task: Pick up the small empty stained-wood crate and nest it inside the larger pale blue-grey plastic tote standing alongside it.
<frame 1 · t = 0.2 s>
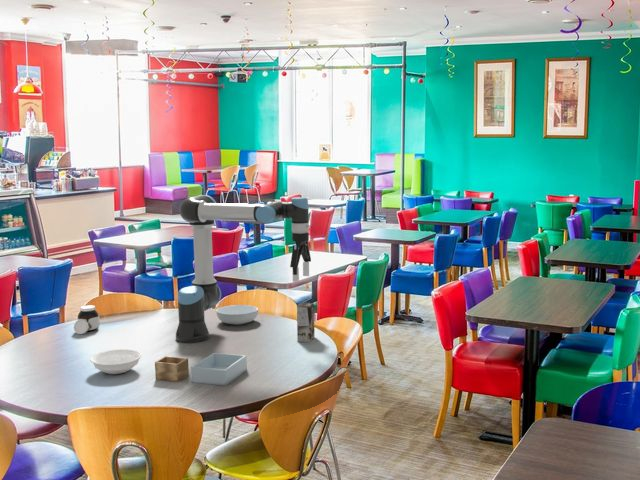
hand: (301, 278, 344), 28 cm above the table, fingers open, 13 cm apart
plastic tote: (219, 375, 298), on the table
wooden crate: (172, 377, 297), on the table
spread jar: (87, 332, 366), on the table
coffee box: (306, 339, 347), on the table
serving bowl: (237, 323, 379), on the table
bowl: (117, 372, 305), on the table
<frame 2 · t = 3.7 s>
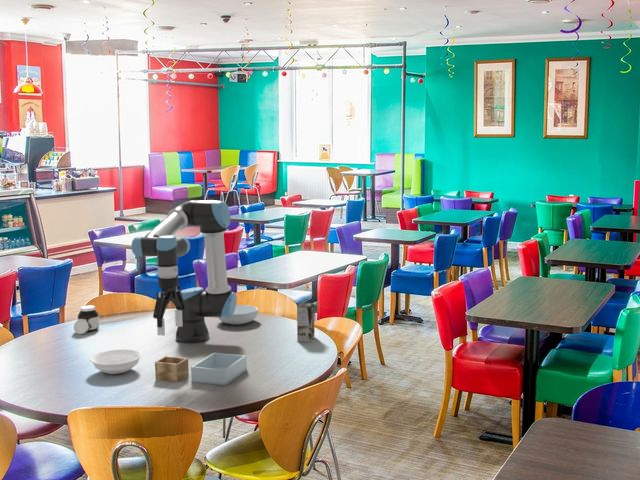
hand: (170, 330, 294), 19 cm above the table, fingers open, 13 cm apart
nothing on the table moved.
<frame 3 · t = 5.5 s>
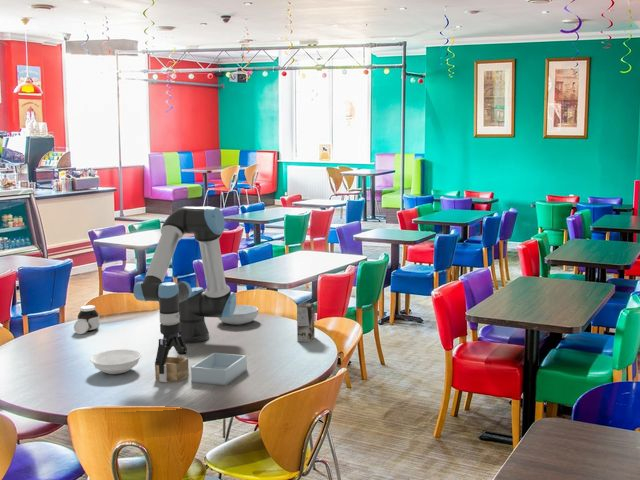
hand: (172, 376, 297), 1 cm above the table, fingers open, 13 cm apart
nothing on the table moved.
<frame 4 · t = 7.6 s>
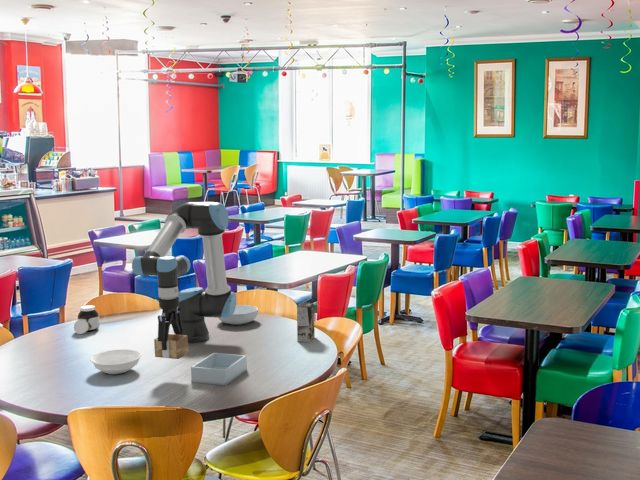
hand: (171, 354, 296), 9 cm above the table, fingers closed on wooden crate, 8 cm apart
wooden crate: (171, 354, 296), point 9 cm above the table, touching gripper
everything else where it was.
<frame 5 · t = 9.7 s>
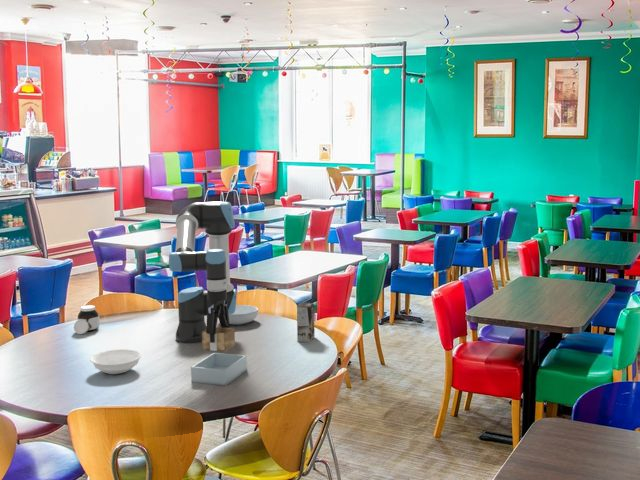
hand: (218, 347, 296), 12 cm above the table, fingers closed on wooden crate, 8 cm apart
wooden crate: (218, 347, 296), point 11 cm above the table, touching gripper
everything else where it was.
when the fingers open (2 cm above the table, at t = 12.1 s): wooden crate drops 1 cm, resting on plastic tote.
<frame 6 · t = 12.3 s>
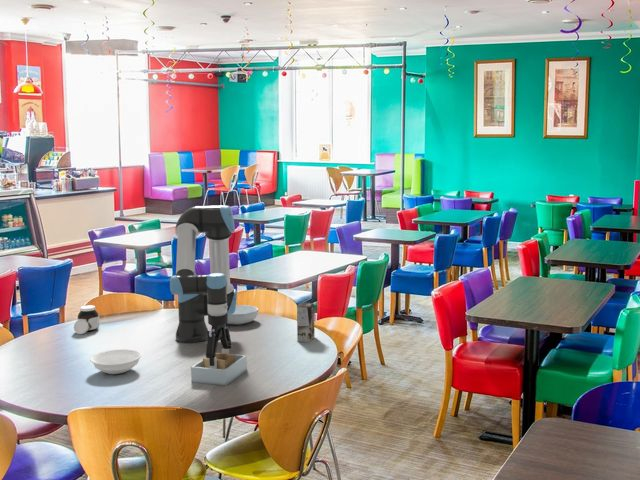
hand: (219, 369, 298), 3 cm above the table, fingers open, 10 cm apart
wooden crate: (219, 373, 298), point 1 cm above the table, touching plastic tote
everything else where it was.
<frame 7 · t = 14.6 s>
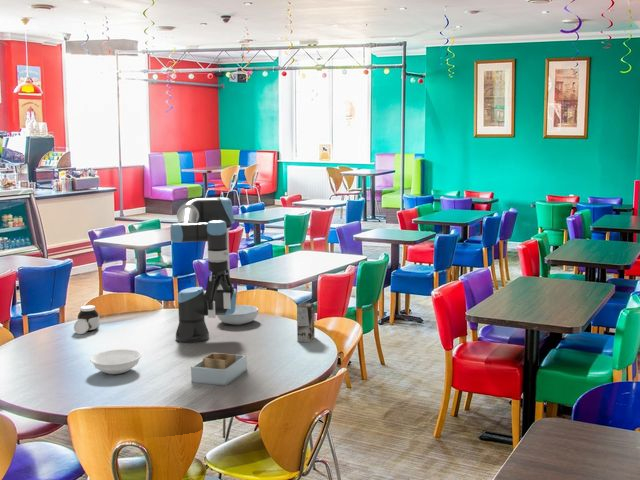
hand: (219, 313, 302), 23 cm above the table, fingers open, 13 cm apart
nothing on the table moved.
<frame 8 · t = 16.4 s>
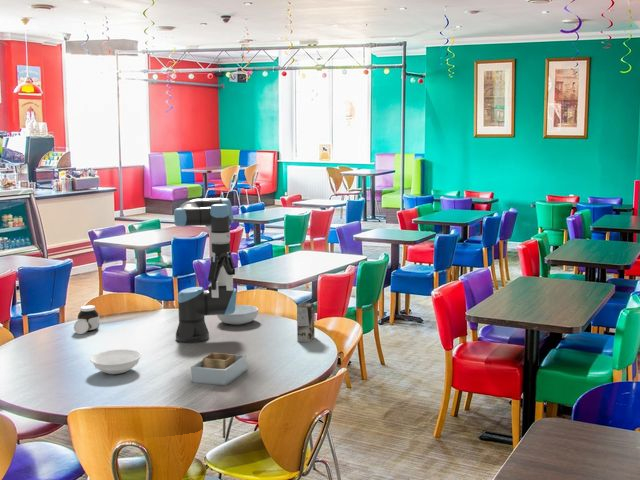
hand: (222, 294, 311), 29 cm above the table, fingers open, 13 cm apart
nothing on the table moved.
at the end: wooden crate inside the target area on the plastic tote (0.0 cm from its centre), point 0.8 cm above the plastic tote's base; wooden crate tilted 0°; the gripper is holding nothing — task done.
